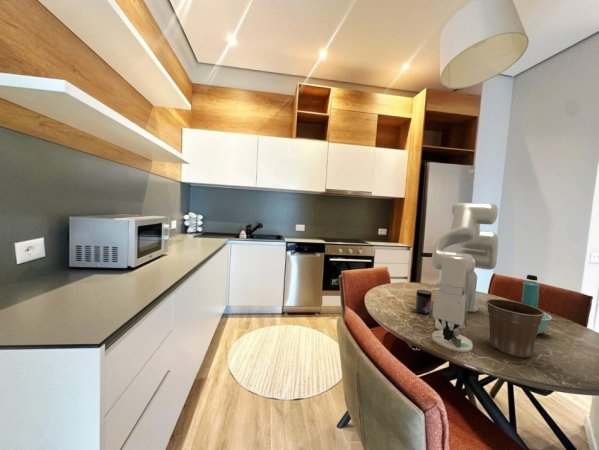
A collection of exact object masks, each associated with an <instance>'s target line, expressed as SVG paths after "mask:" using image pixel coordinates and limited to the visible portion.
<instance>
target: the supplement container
mask: <svg viewBox="0 0 599 450" xmlns="http://www.w3.org/2000/svg"><path fill="white" fill-rule="evenodd" d="M415 294H416V296H415V308H414V310H415V312H416V313H418V314H419V315H423V316H428V315H430V314H431V305H432V296H433V294H432V291H429V290H427V289H416V292H415Z"/></svg>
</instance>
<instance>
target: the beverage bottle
mask: <svg viewBox="0 0 599 450" xmlns="http://www.w3.org/2000/svg"><path fill="white" fill-rule="evenodd" d="M537 281H538V276H537V275H532V274H527V275H526V281H524V282H522V283H523V286H522V295H521V303H523V304H526V305H530V306H533V307H535V308H538V309H539V298H540V295H539V294H540V287H541V286H540V284H539V283H538V282H537Z"/></svg>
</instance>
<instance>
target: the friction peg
mask: <svg viewBox="0 0 599 450" xmlns="http://www.w3.org/2000/svg"><path fill="white" fill-rule="evenodd" d="M449 327H450V326H449ZM459 333H460V329H458V328H456V329H454V333H453V338H451V339H450V340H452V341H453V343H454V344H455V346H456V347H459V348H461V337H459Z"/></svg>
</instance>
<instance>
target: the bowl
mask: <svg viewBox="0 0 599 450" xmlns="http://www.w3.org/2000/svg"><path fill="white" fill-rule="evenodd" d="M544 313H545V314H544V316H542V320H541V324H540V325H539V327H538V332H537V335H539V334H542V333H543V332H544V330H545V329H546V328H547V327H548V325H549V323H550V322H551V320H552V316H551V315H550V314H548V313H546V312H544Z"/></svg>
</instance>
